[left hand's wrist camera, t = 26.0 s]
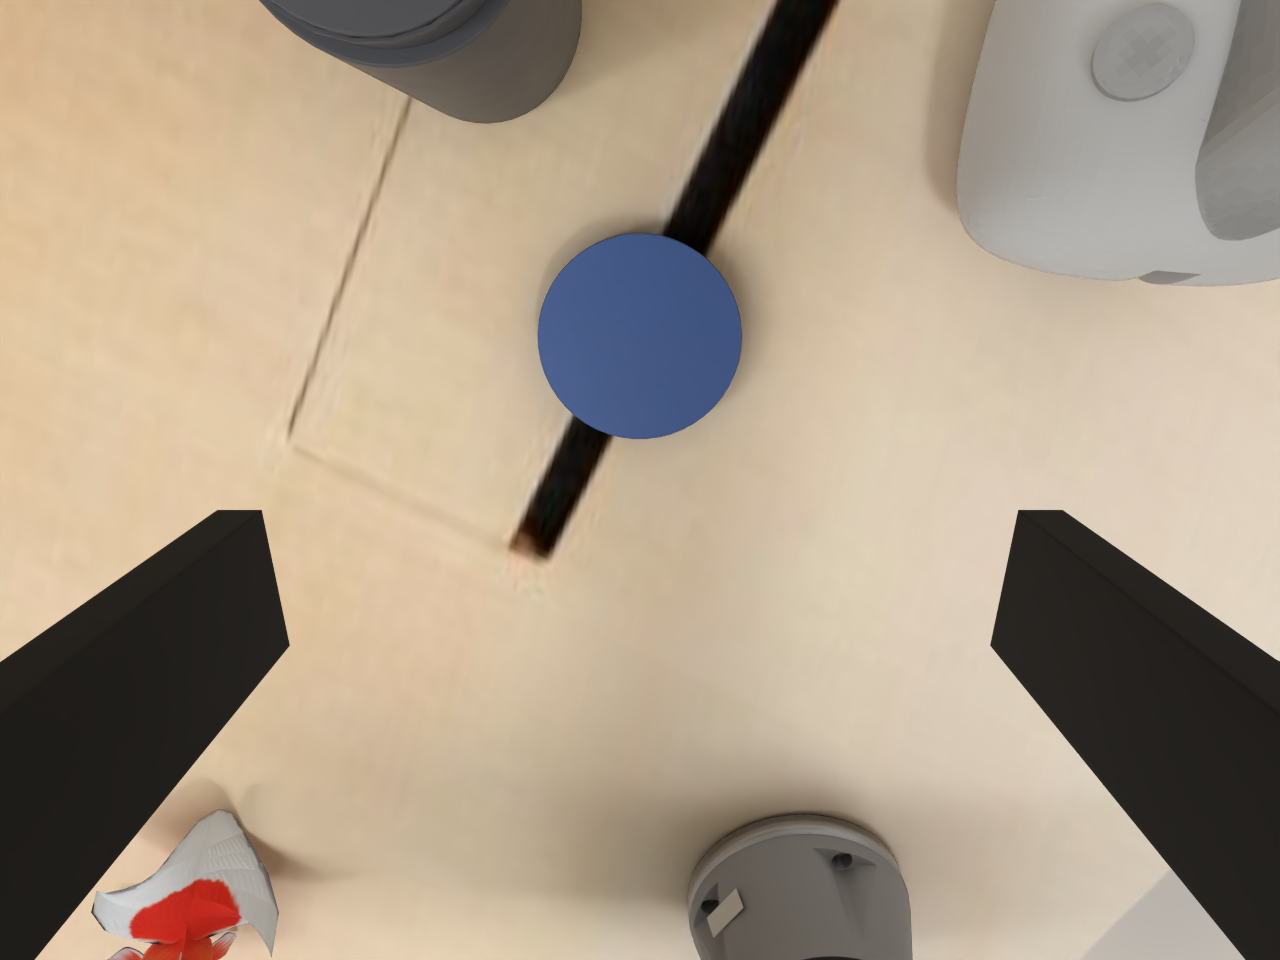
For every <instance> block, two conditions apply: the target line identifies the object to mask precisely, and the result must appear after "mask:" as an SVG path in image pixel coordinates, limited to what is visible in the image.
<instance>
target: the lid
mask: <svg viewBox="0 0 1280 960" xmlns="http://www.w3.org/2000/svg"><path fill="white" fill-rule="evenodd" d="M741 341H742V331H741V321H740V316H739V311H738V307H737V304H736V301H735V299H734V296H733V294H732V292H731V290H730V288H729V286H728V284H727V282H726V281H725V280H724V278H723V277H722V275H721V274H720V272H719V271H718V270H717V269H716V268H715V267H714V266H713V265H712V264H711V262H710V261H708V260H707V259H706V258H705V257H704V256H702V255H701V254H700V253H699V252H697V251H695V250H694V249H692V248H691V247H689V246H687V245H686V244H684V243H682V242H679V241H677V240H675V239H673V238H669V237H666V236H662V235H657V234H651V233H629V234H622V235H618V236H614V237H610V238H607V239H605V240H602V241H600V242H598V243H596V244H594V245H592V246H591V247H589V248H587V249H586V250H584V251H582V252H581V253H580V254H579V255H577V256H576V257H575V258H574V259H572V260H571V261H570V262H569V263H568V264H567V265H566V266H565V267H564V268H563V270H562V271H561V272H560V273H559V275H558V276H557V277H556V279H555V280H554V282H553V283H552V285H551V287H550V289H549V291H548V293H547V295H546V298H545V300H544V303H543V306H542V309H541V314H540V318H539V326H538V348H539V354H540V360H541V363H542V367H543V370H544V373H545V375H546V377H547V380H548V382H549V384H550V386H551V388H552V389H553V391H554V392H555V394H556V396H557V397H558V398H559V399H560V401H561V402H562V403H563V404H564V406H565V407H566V408H567V409H568V410H570V411H571V412H572V413H573V414H574V415H575V416H576V417H578V418H579V419H580V420H582V421H583V422H584V423H586V424H588V425H590V426H591V427H593V428H595V429H597V430H599V431H602V432H604V433H607V434H610V435H614V436H618V437H623V438H631V439H649V438H657V437H662V436H666V435H670V434H672V433H675V432H678V431H680V430H683V429H685V428H686V427H688V426H690V425H692V424H694V423H695V422H697V421H698V420H699V419H701V418H702V417H704V416H705V415H706V414H707V413H708V412H709V411H710V410H711V409H712V408H713V407H714V406H715V405H716V404H717V403H718V401H719V400H720V399H721V398H722V396H723V395H724V393H725V392H726V390H727V389H728V387H729V385H730V383H731V381H732V379H733V377H734V375H735V371H736V368H737V365H738V362H739V357H740V352H741Z"/></svg>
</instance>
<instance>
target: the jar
mask: <svg viewBox="0 0 1280 960" xmlns="http://www.w3.org/2000/svg"><path fill="white" fill-rule="evenodd" d="M259 1H260V2H261V3H262V4H263V5H264V6H265V7H266V8H267V9H268V10H269V11H270V12H271V13H272V14H273V15H274V16H275V18H277V19H278V20H279V21H280V22H281V23H282V24H284V25H285V26H286V27H287V28H288V29H290V30H291V31H292V32H293V33H294V34H296V35H297V36H299V37H300V38H302V39H303V40H305V41H306V42H308V43H310V44H311V45H313V46H314V47H316V48H318V49H320V50H322V51H324V52H326V53H328V54H330V55H332V56H333V57H335V58H337V59H339V60H341V61H343V62H345V63H347V64H349V65H351V66H353V67H355V68H357V69H359V70H361V71H363V72H365V73H367V74H368V75H370V76H372V77H374V78H376V79H378V80H380V81H382V82H384V83H386V84H388V85H390V86H392V87H394V88H396V89H398V90H400V91H401V92H403V93H405V94H407V95H409V96H411V97H413V98H415V99H417V100H419V101H421V102H423V103H425V104H427V105H429V106H431V107H433V108H435V109H436V110H438V111H440V112H442V113H445V114H447V115H449V116H451V117H454V118H457V119H460V120H463V121H469V122H474V123H496V122H503V121H507V120H511V119H514V118H517V117H519V116H521V115H524V114H526V113H528V112H529V111H531V110H532V109H534V108H536V107H537V106H538V105H540V104H541V103H542V102H543V101H544V100H546V99H547V98H548V97H549V96H550V95H551V93H552V92H553V91H554V90H555V89H556V88H557V86H558V85H559V83H560V82H561V81H562V79H563V78H564V76H565V74H566V72H567V70H568V68H569V66H570V65H571V62H572V59H573V57H574V54H575V51H576V48H577V43H578V39H579V35H580V26H581V0H259Z"/></svg>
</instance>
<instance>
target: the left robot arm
mask: <svg viewBox="0 0 1280 960" xmlns="http://www.w3.org/2000/svg"><path fill="white" fill-rule="evenodd" d="M289 646H290V645H289V640H288V635H287V630H286V625H285V621H284V616H283V611H282V606H281V601H280V596H279V592H278V587H277V582H276V577H275V572H274V568H273V563H272V558H271V553H270V548H269V543H268V539H267V534H266V529H265V524H264V519H263V514H262V510H217V511H215V512H214V513H213V514H211V515H210V516H208V517H207V518H205V519H204V520H203V521H201V522H200V523H198V524H197V525H195V526H194V527H193V528H191V529H190V530H188V531H187V532H185V533H184V534H183V535H181V536H180V537H178V538H177V539H175V540H174V541H173V542H171V543H170V544H168V545H167V546H165V547H164V548H163V549H161V550H160V551H158V552H157V553H156V554H154V555H153V556H151V557H150V558H148V559H147V560H146V561H144V562H143V563H141V564H140V565H138V566H137V567H136V568H134V569H133V570H131V571H130V572H128V573H127V574H126V575H124V576H123V577H121V578H120V579H118V580H117V581H116V582H114V583H113V584H111V585H110V586H108V587H107V588H106V589H104V590H103V591H101V592H100V593H98V594H97V595H96V596H94V597H93V598H91V599H90V600H88V601H87V602H86V603H84V604H83V605H81V606H80V607H78V608H77V609H76V610H74V611H73V612H71V613H70V614H68V615H67V616H66V617H64V618H63V619H61V620H60V621H58V622H57V623H56V624H54V625H53V626H51V627H50V628H48V629H47V630H46V631H44V632H43V633H41V634H40V635H38V636H37V637H36V638H34V639H33V640H31V641H30V642H28V643H27V644H26V645H24V646H23V647H21V648H20V649H18V650H17V651H16V652H14V653H13V654H11V655H10V656H8V657H7V658H6V659H4V660H3V661H1V662H0V960H35V958H36V957H37V956H38V955H39V954H40V952H41V951H42V950H43V949H44V947H45V946H46V945H47V944H48V942H49V941H50V940H51V939H52V938H53V936H54V935H55V934H56V933H57V931H58V930H59V929H60V928H61V926H62V925H63V924H64V923H65V922H66V920H67V919H68V918H69V917H70V915H71V914H72V913H73V912H74V910H75V909H76V908H77V907H78V906H79V904H80V903H81V902H82V901H83V899H84V898H85V897H86V896H87V894H88V893H89V892H90V891H91V890H92V888H93V887H94V886H95V885H96V883H97V882H98V881H99V880H100V878H101V877H102V876H103V875H104V874H105V872H106V871H107V870H108V869H109V867H110V866H111V865H112V864H113V862H114V861H115V860H116V859H117V858H118V856H119V855H120V854H121V853H122V851H123V850H124V849H125V848H126V846H127V845H128V844H129V843H130V841H131V840H132V839H133V838H134V837H135V835H136V834H137V833H138V832H139V830H140V829H141V828H142V827H143V825H144V824H145V823H146V822H147V821H148V819H149V818H150V817H151V816H152V814H153V813H154V812H155V811H156V809H157V808H158V807H159V806H160V805H161V803H162V802H163V801H164V800H165V798H166V797H167V796H168V795H169V793H170V792H171V791H172V790H173V789H174V787H175V786H176V785H177V784H178V782H179V781H180V780H181V779H182V777H183V776H184V775H185V774H186V773H187V771H188V770H189V769H190V768H191V766H192V765H193V764H194V763H195V761H196V760H197V759H198V758H199V757H200V755H201V754H202V753H203V752H204V750H205V749H206V748H207V747H208V745H209V744H210V743H211V742H212V741H213V739H214V738H215V737H216V736H217V734H218V733H219V732H220V731H221V729H222V728H223V727H224V726H225V725H226V723H227V722H228V721H229V720H230V718H231V717H232V716H233V715H234V713H235V712H236V711H237V710H238V709H239V707H240V706H241V705H242V704H243V702H244V701H245V700H246V699H247V697H248V696H249V695H250V694H251V693H252V691H253V690H254V689H255V688H256V686H257V685H258V684H259V683H260V681H261V680H262V679H263V678H264V677H265V675H266V674H267V673H268V672H269V670H270V669H271V668H272V667H273V665H274V664H275V663H276V662H277V661H278V659H279V658H280V657H281V656H282V654H283V653H284V652H285V651H286V649H287V648H288V647H289ZM990 646H991V647H992V648H993V649H994V651H995V652H996V653H997V654H998V656H999V657H1000V658H1001V659H1002V661H1003V662H1004V663H1005V664H1006V665H1007V667H1008V668H1009V669H1010V670H1011V672H1012V673H1013V674H1014V675H1015V677H1016V678H1017V679H1018V680H1019V681H1020V683H1021V684H1022V685H1023V686H1024V688H1025V689H1026V690H1027V691H1028V693H1029V694H1030V695H1031V696H1032V697H1033V699H1034V700H1035V701H1036V702H1037V704H1038V705H1039V706H1040V707H1041V709H1042V710H1043V711H1044V712H1045V713H1046V715H1047V716H1048V717H1049V718H1050V720H1051V721H1052V722H1053V723H1054V725H1055V726H1056V727H1057V728H1058V729H1059V731H1060V732H1061V733H1062V734H1063V736H1064V737H1065V738H1066V739H1067V741H1068V742H1069V743H1070V744H1071V745H1072V747H1073V748H1074V749H1075V750H1076V752H1077V753H1078V754H1079V755H1080V757H1081V758H1082V759H1083V760H1084V761H1085V763H1086V764H1087V765H1088V766H1089V768H1090V769H1091V770H1092V771H1093V773H1094V774H1095V775H1096V776H1097V777H1098V779H1099V780H1100V781H1101V782H1102V784H1103V785H1104V786H1105V787H1106V789H1107V790H1108V791H1109V792H1110V793H1111V795H1112V796H1113V797H1114V798H1115V800H1116V801H1117V802H1118V803H1119V805H1120V806H1121V807H1122V808H1123V809H1124V811H1125V812H1126V813H1127V814H1128V816H1129V817H1130V818H1131V819H1132V821H1133V822H1134V823H1135V824H1136V825H1137V827H1138V828H1139V829H1140V830H1141V832H1142V833H1143V834H1144V835H1145V837H1146V838H1147V839H1148V840H1149V841H1150V843H1151V844H1152V845H1153V846H1154V848H1155V849H1156V850H1157V851H1158V853H1159V854H1160V855H1161V856H1162V858H1163V859H1164V860H1165V861H1166V862H1167V864H1168V865H1169V866H1170V867H1171V869H1172V870H1173V871H1174V872H1175V874H1176V875H1177V876H1178V877H1179V878H1180V880H1181V881H1182V882H1183V883H1184V885H1185V886H1186V887H1187V888H1188V890H1189V891H1190V892H1191V893H1192V894H1193V896H1194V897H1195V898H1196V899H1197V901H1198V902H1199V903H1200V904H1201V906H1202V907H1203V908H1204V909H1205V910H1206V912H1207V913H1208V914H1209V915H1210V917H1211V918H1212V919H1213V920H1214V922H1215V923H1216V924H1217V925H1218V926H1219V928H1220V929H1221V930H1222V931H1223V932H1224V934H1225V935H1226V936H1227V938H1228V939H1229V940H1230V941H1231V942H1232V944H1233V945H1234V946H1235V947H1236V949H1237V950H1238V951H1239V952H1240V954H1241V955H1242V956H1243V957H1244V958H1245V960H1280V661H1278V660H1276V659H1274V658H1273V657H1272V656H1270V655H1269V654H1267V653H1266V652H1264V651H1263V650H1262V649H1260V648H1259V647H1257V646H1256V645H1254V644H1253V643H1252V642H1250V641H1249V640H1247V639H1246V638H1244V637H1243V636H1242V635H1240V634H1239V633H1237V632H1236V631H1234V630H1233V629H1232V628H1230V627H1229V626H1227V625H1226V624H1224V623H1223V622H1222V621H1220V620H1219V619H1217V618H1216V617H1214V616H1213V615H1212V614H1210V613H1209V612H1207V611H1206V610H1204V609H1203V608H1202V607H1200V606H1199V605H1197V604H1196V603H1194V602H1193V601H1192V600H1190V599H1189V598H1187V597H1186V596H1184V595H1183V594H1182V593H1180V592H1179V591H1177V590H1176V589H1174V588H1173V587H1172V586H1170V585H1169V584H1167V583H1166V582H1164V581H1163V580H1162V579H1160V578H1159V577H1157V576H1156V575H1154V574H1153V573H1152V572H1150V571H1149V570H1147V569H1146V568H1144V567H1143V566H1142V565H1140V564H1139V563H1137V562H1136V561H1134V560H1133V559H1132V558H1130V557H1129V556H1127V555H1126V554H1124V553H1123V552H1122V551H1120V550H1119V549H1117V548H1116V547H1115V546H1113V545H1112V544H1110V543H1109V542H1107V541H1106V540H1105V539H1103V538H1102V537H1100V536H1099V535H1097V534H1096V533H1095V532H1093V531H1092V530H1090V529H1089V528H1087V527H1086V526H1085V525H1083V524H1082V523H1080V522H1079V521H1077V520H1076V519H1075V518H1073V517H1072V516H1070V515H1069V514H1067V513H1066V512H1065V511H1063V510H1018V514H1017V519H1016V524H1015V529H1014V534H1013V539H1012V543H1011V548H1010V553H1009V558H1008V563H1007V567H1006V572H1005V577H1004V582H1003V587H1002V592H1001V596H1000V601H999V606H998V611H997V616H996V621H995V625H994V630H993V635H992V640H991V645H990ZM688 911H689V923H690V930H691V934H692V937H693V940H694V943H695V946H696V949H697V951H698V954H699V956H700V958H701V960H913V959H912V935H911V912H910V904H909V896H908V892H907V888H906V885H905V883H904V880H903V878H902V875H901V873H900V870H899V868H898V865H897V863H896V861H895V859H894V857H893V855H892V854H891V852H890V851H889V850H888V848H887V847H886V846H885V845H884V844H883V843H882V842H881V841H880V840H879V839H877V838H876V837H875V836H874V835H872V834H871V833H869V832H868V831H866V830H864V829H862V828H861V827H859V826H856V825H854V824H852V823H849V822H846V821H843V820H840V819H836V818H832V817H827V816H820V815H786V816H779V817H773V818H769V819H765V820H761V821H758V822H755V823H752V824H750V825H747V826H745V827H742V828H741V829H739V830H737V831H735V832H733V833H731V834H730V835H728V836H726V837H725V838H723V839H722V840H721V841H719V842H718V843H717V844H716V845H715V846H713V847H712V848H711V849H710V850H709V851H708V852H707V853H706V855H705V856H704V857H703V858H702V860H701V861H700V862H699V864H698V865H697V867H696V869H695V871H694V873H693V875H692V878H691V881H690V884H689V890H688Z"/></svg>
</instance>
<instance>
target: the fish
mask: <svg viewBox="0 0 1280 960" xmlns="http://www.w3.org/2000/svg"><path fill="white" fill-rule="evenodd" d="M91 913H92V914H93V915H94V917H95V918H96V920H97V921H98V922H99V924H100V925H101V926H102V928H103V929H104V930H105V931H107V932H110V933H112V934H114V935H116V936H119V937H123V938H127V939H131V940H136V941H141V942H146V943H151V944H152V945H151V946H150V947H149V948H148V950H147V951H146V952H145V954H144V955H143V954H142V953H141V952H140V951H138V950H136V949H133V948H131V947H125V948H123V949H121V950H120V951H118V952H117V953H116V954H115V955H113V956H112V957H111V958H109V959H108V960H219V959H221V958H222V957H223V956H224V955H226V953H227V951H228V949H229V947H230V946H231V944H232V943H233V941H234V939H235V938H236V935H235V933H230V932H228V933H226V934H224V935H223V936H222V937H221V938H220V939H218V940H217V941H216V942H214V943H213V944H212V942H211V939H210V938H209V937H211V936H214V935H216V934H218V933H221V932H223V931H225V930H227V929H230V928H232V927H234V926H238V925H244V924H251V925H252V926H253V927H254V928H255V929H256V930H257V932H258V933H259V934H260V936H261V937H262V939H263V940H264V942H265V944H266V945H267V947H268V949H269V952H270V955H271V958H272V952H273V945H274V939H275V933H276V927H277V920H278V914H279V911H278V908H277V904H276V901H275V897H274V893H273V890H272V886H271V883H270V879H269V876H268V873H267V871H266V869H265V867H264V866H263V864H262V862H261V860H260V858H259V857H258V855H257V853H256V851H255V850H254V848H253V846H252V845H251V843H250V842H249V840H248V838H247V837H246V835H245V834H244V832H243V830H242V828H241V826H240V824H239V822H238V821H237V820H236V818H235V817H234V816H233V815H232V814H231V813H230V812H228V811H225V810H216V811H214V812H213V813H211V814H209V815H208V816H206V817H204V818H202V819H201V820H200V821H199V822H198V823H197V824H196V825H195V826H194V827H193V828H192V829H191V830H190V832H189V833H188V834H187V835H186V837H185V838H184V839H183V840H182V841H181V843H180V844H179V845H178V846H177V848H176V849H175V850H174V851H173V852H172V854H171V855H170V856H169V857H168V858H167V860H166V861H165V862H164V864H163V865H162V866H161V867H160V869H159V870H158V871H157V872H156V873H155V874H153V875H152V876H151V877H149V878H148V879H146V880H145V881H143V882H142V883H139V884H137V885H134V886H131V887H129V888H126V889H123V890H118V891H113V892H108V893H102V892H99V891H97V892H96V896H95V900H94V904H93V907H92V911H91Z"/></svg>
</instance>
